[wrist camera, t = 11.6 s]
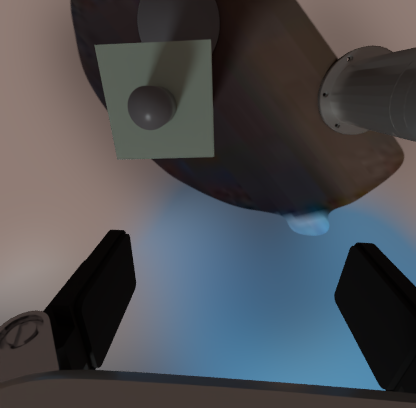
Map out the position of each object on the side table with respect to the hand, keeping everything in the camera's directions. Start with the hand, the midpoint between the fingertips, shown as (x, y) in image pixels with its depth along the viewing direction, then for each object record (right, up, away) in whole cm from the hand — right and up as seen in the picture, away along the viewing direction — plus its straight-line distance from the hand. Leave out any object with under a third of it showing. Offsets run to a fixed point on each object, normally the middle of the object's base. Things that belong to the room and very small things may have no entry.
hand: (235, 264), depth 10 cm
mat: (-5, +29, +25) cm, 39 cm away
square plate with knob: (-6, +13, +14) cm, 20 cm away
